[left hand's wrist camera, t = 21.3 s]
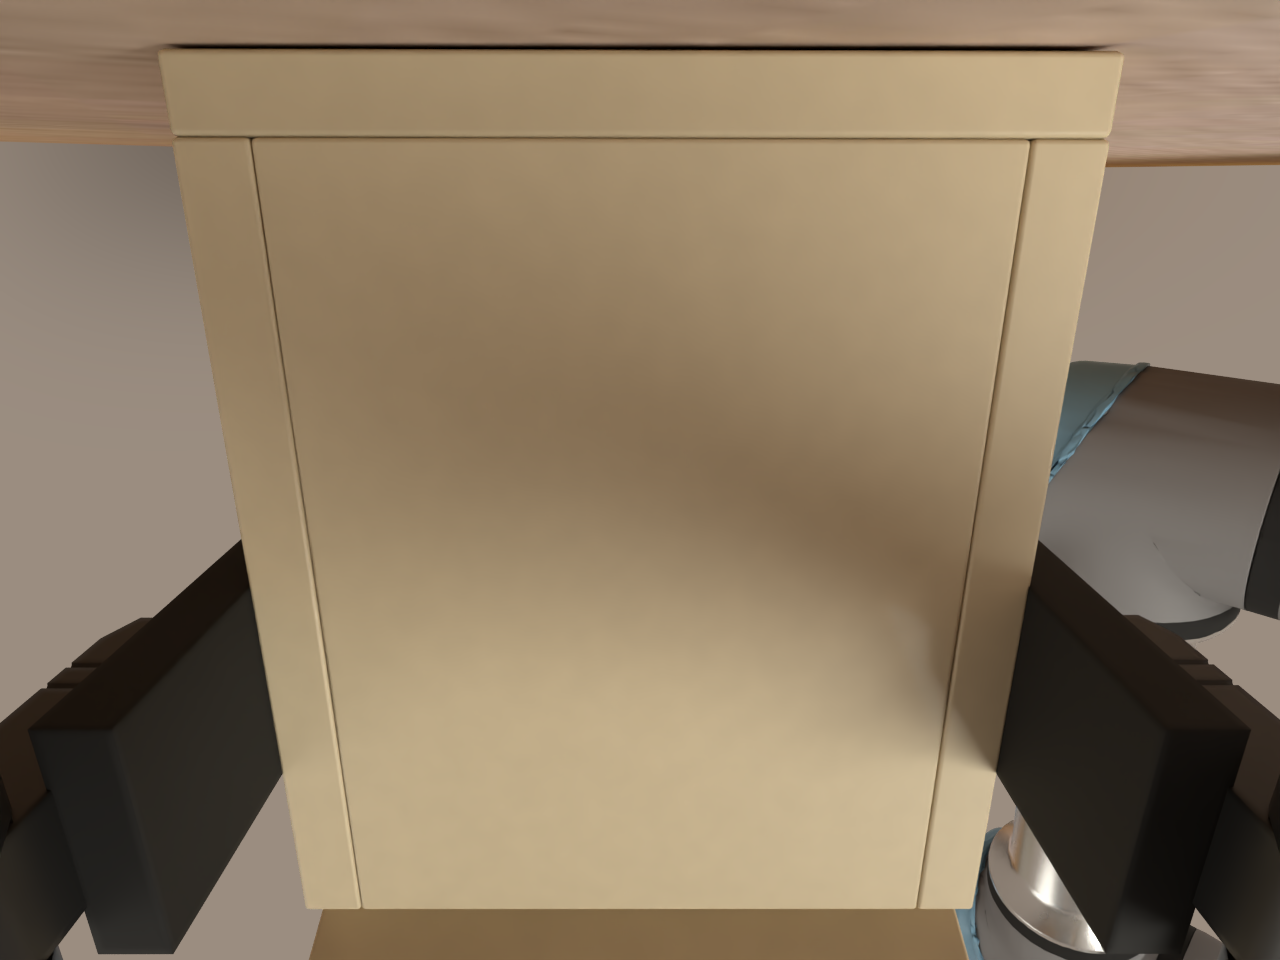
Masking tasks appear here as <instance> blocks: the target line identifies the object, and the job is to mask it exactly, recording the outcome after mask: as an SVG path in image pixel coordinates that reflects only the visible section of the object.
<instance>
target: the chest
mask: <svg viewBox="0 0 1280 960" xmlns="http://www.w3.org/2000/svg"><path fill="white" fill-rule="evenodd" d="M158 61H159V67H160V72H161V78H162V84H163V89H164V95H165V101H166V107H167V112H168V118H169V124H170V129H171V131H172V133H173V134H174V135H176V136H178V137H177V138H175V139H173V142H172V144H173V150H174V156H175V162H176V167H177V173H178V179H179V185H180V190H181V196H182V202H183V207H184V213H185V219H186V225H187V230H188V235H189V242H190V247H191V253H192V259H193V264H194V270H195V276H196V282H197V287H198V293H199V299H200V305H201V310H202V316H203V322H204V327H205V333H206V339H207V345H208V350H209V356H210V362H211V367H212V373H213V379H214V384H215V390H216V396H217V402H218V407H219V413H220V419H221V424H222V430H223V436H224V442H225V447H226V453H227V459H228V464H229V470H230V476H231V482H232V488H233V493H234V499H235V505H236V510H237V516H238V522H239V527H240V533H241V539H242V545H243V550H244V556H245V562H246V568H247V573H248V579H249V585H250V590H251V596H252V602H253V608H254V613H255V619H256V625H257V630H258V636H259V642H260V648H261V653H262V659H263V665H264V670H265V676H266V682H267V688H268V693H269V699H270V705H271V710H272V716H273V722H274V728H275V733H276V739H277V745H278V751H279V756H280V762H281V767H282V773H283V779H284V785H285V791H286V796H287V802H288V808H289V813H290V819H291V825H292V831H293V836H294V842H295V848H296V853H297V859H298V865H299V870H300V876H301V882H302V887H303V893H304V899H305V905H306V908H308V909H359V908H360V907H361V906H362V907H363V908H365V909H914V908H915V907H916V904H917V907H918V908H920V909H970V908H972V906H973V901H974V895H975V889H976V884H977V878H978V873H979V867H980V861H981V856H982V850H983V845H984V839H985V834H986V828H987V822H988V817H989V811H990V806H991V800H992V795H993V789H994V783H995V778H996V770H997V764H998V758H999V753H1000V747H1001V742H1002V736H1003V730H1004V725H1005V719H1006V713H1007V708H1008V702H1009V696H1010V691H1011V685H1012V679H1013V674H1014V668H1015V663H1016V657H1017V651H1018V646H1019V640H1020V634H1021V629H1022V623H1023V617H1024V612H1025V606H1026V600H1027V595H1028V589H1029V587H1030V583H1031V577H1032V572H1033V566H1034V561H1035V555H1036V549H1037V544H1038V538H1039V533H1040V527H1041V522H1042V516H1043V510H1044V505H1045V499H1046V494H1047V488H1048V483H1049V477H1050V471H1051V466H1052V460H1053V455H1054V449H1055V444H1056V438H1057V432H1058V427H1059V421H1060V416H1061V410H1062V405H1063V399H1064V393H1065V388H1066V382H1067V377H1068V371H1069V366H1070V360H1071V354H1072V349H1073V343H1074V338H1075V332H1076V327H1077V321H1078V315H1079V310H1080V304H1081V299H1082V293H1083V287H1084V281H1085V276H1086V271H1087V265H1088V260H1089V254H1090V248H1091V243H1092V237H1093V232H1094V226H1095V221H1096V215H1097V209H1098V204H1099V198H1100V193H1101V187H1102V182H1103V176H1104V171H1105V165H1106V159H1107V154H1108V148H1109V142H1108V141H1106V140H1104V138H1106V137H1108V136H1109V134H1110V132H1111V128H1112V122H1113V117H1114V111H1115V106H1116V100H1117V94H1118V89H1119V83H1120V78H1121V72H1122V67H1123V61H1124V56H1123V54H1122V53H1120V52H1118V51H868V50H501V49H163V50H160V51H158Z"/></svg>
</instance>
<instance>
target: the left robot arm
mask: <svg viewBox="0 0 1280 960" xmlns="http://www.w3.org/2000/svg"><path fill="white" fill-rule="evenodd" d="M996 773H997V775H998V777H999V778H1000V780H1001V782H1002V783H1003V785H1004V787H1005V788H1006V790H1007V792H1008V793H1009V795H1010V797H1011V798H1012V800H1013V802H1014V803H1015V805H1016V806H1017V808H1018V810H1019V811H1020V813H1021V815H1022V816H1023V818H1024V820H1025V821H1026V823H1027V825H1028V826H1029V828H1030V830H1031V831H1032V833H1033V835H1034V836H1035V838H1036V840H1037V841H1038V843H1039V844H1040V846H1041V848H1042V849H1043V851H1044V853H1045V854H1046V856H1047V858H1048V859H1049V861H1050V863H1051V864H1052V866H1053V868H1054V869H1055V871H1056V873H1057V874H1058V876H1059V878H1060V879H1061V881H1062V882H1063V884H1064V886H1065V887H1066V889H1067V891H1068V892H1069V894H1070V896H1071V897H1072V899H1073V901H1074V902H1075V904H1076V906H1077V907H1078V909H1079V911H1080V912H1081V914H1082V916H1083V917H1084V919H1085V920H1086V922H1087V924H1088V925H1089V927H1090V929H1091V930H1092V932H1093V934H1094V935H1095V937H1096V939H1097V940H1098V942H1099V944H1100V945H1101V947H1102V949H1103V950H1104V952H1105V953H1106V954H1181V951H1182V948H1183V945H1184V942H1185V939H1186V936H1187V932H1188V929H1189V926H1190V923H1191V920H1192V917H1193V913H1194V910H1195V907H1196V909H1197V910H1198V911H1199V913H1200V914H1201V915H1202V917H1203V918H1204V919H1205V920H1206V922H1207V923H1208V924H1209V926H1210V927H1211V928H1212V930H1213V931H1214V932H1215V933H1216V935H1217V936H1218V937H1219V939H1220V940H1221V941H1222V946H1221V949H1220V952H1219V955H1218V958H1217V960H1280V719H1278V718H1277V717H1276V716H1275V715H1274V714H1272V713H1271V712H1270V711H1269V710H1268V709H1266V708H1265V707H1264V706H1263V705H1262V704H1260V703H1259V702H1258V701H1257V700H1256V699H1254V698H1253V697H1252V696H1251V695H1250V694H1248V693H1247V692H1246V691H1245V690H1244V689H1242V688H1241V687H1240V686H1239V685H1233V684H1232V679H1230V678H1229V677H1228V676H1227V675H1226V674H1224V673H1223V672H1222V671H1221V670H1220V669H1218V668H1217V667H1216V666H1215V665H1209V664H1208V659H1206V658H1205V657H1204V656H1203V655H1202V654H1201V653H1199V652H1198V651H1197V650H1196V649H1195V648H1193V647H1192V646H1191V645H1190V644H1189V643H1187V642H1186V641H1185V640H1184V639H1183V638H1181V637H1180V636H1179V635H1177V634H1175V633H1173V632H1171V631H1169V630H1167V629H1165V628H1163V627H1161V626H1159V625H1157V624H1156V623H1154V622H1152V621H1150V620H1148V619H1146V618H1144V617H1142V616H1140V615H1122V614H1121V613H1120V612H1119V611H1118V610H1117V609H1116V608H1114V607H1113V606H1112V605H1111V604H1110V603H1109V602H1108V601H1107V600H1105V599H1104V598H1103V597H1102V596H1101V595H1100V594H1099V593H1098V592H1096V591H1095V590H1094V589H1093V588H1092V587H1091V586H1090V585H1089V584H1088V583H1086V582H1085V581H1084V580H1083V579H1082V578H1081V577H1080V576H1079V575H1077V574H1076V573H1075V572H1074V571H1073V570H1072V569H1071V568H1070V567H1068V566H1067V565H1066V564H1065V563H1064V562H1063V561H1062V560H1061V559H1059V558H1058V557H1057V556H1056V555H1055V554H1054V553H1053V552H1052V551H1050V550H1049V549H1048V548H1047V547H1046V546H1045V545H1044V544H1043V543H1041V542H1040V541H1039V540H1038V544H1037V549H1036V555H1035V561H1034V566H1033V572H1032V577H1031V583H1030V587H1029V589H1028V595H1027V600H1026V606H1025V612H1024V617H1023V623H1022V629H1021V634H1020V640H1019V646H1018V651H1017V657H1016V663H1015V668H1014V674H1013V679H1012V685H1011V691H1010V696H1009V702H1008V708H1007V713H1006V719H1005V725H1004V730H1003V736H1002V742H1001V747H1000V753H999V758H998V764H997V770H996ZM282 774H283V773H282V767H281V762H280V756H279V751H278V745H277V739H276V733H275V728H274V722H273V716H272V710H271V705H270V699H269V693H268V688H267V682H266V676H265V670H264V665H263V659H262V653H261V648H260V642H259V636H258V630H257V625H256V619H255V613H254V608H253V602H252V596H251V590H250V585H249V579H248V573H247V568H246V562H245V556H244V550H243V545H242V539H241V540H240V541H239V542H238V543H236V544H235V545H234V546H233V547H232V548H231V549H230V550H229V551H227V552H226V553H225V554H224V555H223V556H222V557H221V558H220V559H218V560H217V561H216V562H215V563H214V564H213V565H212V566H211V567H209V568H208V569H207V570H206V571H205V572H204V573H203V574H202V575H200V576H199V577H198V578H197V579H196V580H195V581H194V582H193V583H191V584H190V585H189V586H188V587H187V588H186V589H185V590H184V591H182V592H181V593H180V594H179V595H178V596H177V597H176V598H175V599H173V600H172V601H171V602H170V603H169V604H168V605H167V606H166V607H164V608H163V609H162V610H161V611H160V612H159V613H158V614H157V615H155V616H154V617H153V618H139V619H138V620H136V621H134V622H132V623H130V624H128V625H126V626H124V627H122V628H120V629H118V630H116V631H114V632H112V633H110V634H108V635H106V636H104V637H103V638H101V639H99V640H98V641H97V642H96V643H95V644H94V645H92V646H91V647H90V648H89V649H88V650H86V651H85V652H84V653H83V654H82V655H80V656H79V657H78V658H77V659H76V660H74V661H73V662H72V666H71V668H65V669H64V670H63V671H61V672H60V673H59V674H58V675H57V676H55V677H54V678H53V679H52V680H51V681H50V682H48V686H47V688H46V689H40V690H39V691H38V692H36V693H35V694H34V695H33V696H32V697H31V698H29V699H28V700H27V701H26V702H25V703H23V704H22V705H21V706H20V707H19V708H17V709H16V710H15V711H14V712H13V713H12V714H10V715H9V716H8V717H7V718H6V719H4V720H3V721H2V722H1V723H0V960H63V958H62V955H61V952H60V949H59V946H58V945H59V943H60V942H61V941H62V939H63V938H64V937H65V935H66V934H67V933H68V931H69V930H70V929H71V928H72V926H73V925H74V923H75V922H76V921H77V920H78V918H79V917H80V916H81V914H82V913H83V912H84V911H85V914H86V917H87V920H88V923H89V926H90V930H91V933H92V936H93V939H94V942H95V945H96V949H97V952H98V954H174V952H175V950H176V949H177V947H178V945H179V944H180V942H181V940H182V939H183V937H184V935H185V934H186V932H187V930H188V929H189V927H190V925H191V924H192V922H193V920H194V919H195V917H196V915H197V914H198V912H199V911H200V909H201V907H202V906H203V904H204V902H205V901H206V899H207V897H208V896H209V894H210V892H211V891H212V889H213V887H214V886H215V884H216V883H217V881H218V879H219V878H220V876H221V874H222V872H223V871H224V869H225V868H226V866H227V864H228V863H229V861H230V859H231V858H232V856H233V854H234V853H235V851H236V850H237V848H238V846H239V845H240V843H241V841H242V840H243V838H244V836H245V835H246V833H247V831H248V830H249V828H250V826H251V825H252V823H253V821H254V820H255V818H256V816H257V815H258V813H259V812H260V810H261V808H262V807H263V805H264V803H265V802H266V800H267V798H268V797H269V795H270V793H271V792H272V790H273V788H274V787H275V785H276V783H277V782H278V780H279V778H280V777H281V775H282Z"/></svg>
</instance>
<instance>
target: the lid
mask: <svg viewBox="0 0 1280 960" xmlns="http://www.w3.org/2000/svg"><path fill="white" fill-rule="evenodd" d="M309 960H969V957H968V954H967V950H966V947H965V943H964V940H963V936H962V932H961V929H960V925H959V922H958V918H957V915H956V911H955V909H920V908H918V907H917V904H916V907H915V908H914V909H365V908H363V907H362V906H361V907H360V908H359V909H323V911H322V915H321V918H320V922H319V925H318V929H317V933H316V936H315V940H314V944H313V947H312V951H311V954H310V958H309Z"/></svg>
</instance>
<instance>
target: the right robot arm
mask: <svg viewBox="0 0 1280 960" xmlns="http://www.w3.org/2000/svg"><path fill="white" fill-rule="evenodd" d="M1038 540H1039V541H1040V542H1041V543H1043V544H1044V545H1045V546H1046V547H1047V548H1048V549H1049V550H1050V551H1052V552H1053V553H1054V554H1055V555H1056V556H1057V557H1058V558H1059V559H1061V560H1062V561H1063V562H1064V563H1065V564H1066V565H1067V566H1068V567H1070V568H1071V569H1072V570H1073V571H1074V572H1075V573H1076V574H1077V575H1079V576H1080V577H1081V578H1082V579H1083V580H1084V581H1085V582H1086V583H1088V584H1089V585H1090V586H1091V587H1092V588H1093V589H1094V590H1095V591H1096V592H1098V593H1099V594H1100V595H1101V596H1102V597H1103V598H1104V599H1105V600H1107V601H1108V602H1109V603H1110V604H1111V605H1112V606H1113V607H1114V608H1116V609H1117V610H1118V611H1119V612H1120V613H1121V614H1122V615H1140V616H1142V617H1144V618H1146V619H1148V620H1150V621H1152V622H1154V623H1156V624H1157V625H1159V626H1161V627H1163V628H1165V629H1167V630H1169V631H1171V632H1173V633H1175V634H1177V635H1179V636H1180V637H1181V638H1183V639H1184V640H1185V641H1186V642H1187V643H1189V644H1190V645H1191V646H1192V647H1193V648H1195V649H1196V648H1197V644H1198V643H1199V642H1203V641H1205V640H1208V639H1211V638H1214V637H1216V636H1217V635H1219V634H1221V633H1223V632H1224V631H1226V630H1227V629H1229V628H1230V627H1231V626H1232V625H1233V623H1234V622H1235V621H1236V619H1237V617H1238V615H1239V612H1240V609H1243V610H1247V611H1250V612H1254V613H1257V614H1261V615H1264V616H1267V617H1271V618H1274V619H1278V620H1280V384H1274V383H1267V382H1259V381H1252V380H1245V379H1238V378H1230V377H1223V376H1216V375H1209V374H1202V373H1194V372H1188V371H1180V370H1173V369H1166V368H1158V367H1152V366H1150V364H1149V363H1138V364H1136V365H1131V364H1118V363H1106V362H1094V361H1076V362H1071V363H1070V366H1069V371H1068V377H1067V382H1066V388H1065V393H1064V399H1063V405H1062V410H1061V416H1060V421H1059V427H1058V432H1057V438H1056V444H1055V449H1054V455H1053V460H1052V466H1051V471H1050V477H1049V483H1048V488H1047V494H1046V499H1045V505H1044V510H1043V516H1042V522H1041V527H1040V533H1039V538H1038ZM955 911H956V915H957V918H958V922H959V925H960V929H961V932H962V936H963V940H964V943H965V947H966V950H967V954H968V957H969V960H1217V958H1218V955H1219V952H1220V949H1221V946H1222V942H1220V941H1218V940H1217V939H1215V938H1214V937H1212V936H1210V935H1208V934H1207V933H1205V932H1203V931H1201V930H1199V929H1196V928H1195V927H1193V926H1191V925H1190V926H1189V929H1188V932H1187V936H1186V939H1185V942H1184V945H1183V948H1182V951H1181V954H1106V953H1105V952H1104V950H1103V949H1102V947H1101V945H1100V944H1099V942H1098V940H1097V939H1096V937H1095V935H1094V934H1093V932H1092V930H1091V929H1090V927H1089V925H1088V924H1087V922H1086V920H1085V919H1084V917H1083V916H1082V914H1081V912H1080V911H1079V909H1078V907H1077V906H1076V904H1075V902H1074V901H1073V899H1072V897H1071V896H1070V894H1069V892H1068V891H1067V889H1066V887H1065V886H1064V884H1063V882H1062V881H1061V879H1060V878H1059V876H1058V874H1057V873H1056V871H1055V869H1054V868H1053V866H1052V864H1051V863H1050V861H1049V859H1048V858H1047V856H1046V854H1045V853H1044V851H1043V849H1042V848H1041V846H1040V844H1039V843H1038V841H1037V840H1036V838H1035V836H1034V835H1033V833H1032V831H1031V830H1030V828H1029V826H1028V825H1027V823H1026V821H1025V820H1024V818H1023V816H1022V815H1021V813H1020V811H1019V810H1018V808H1017V806H1016V811H1015V819H1014V820H1012V821H1010V822H1009V823H1008V824H1006V825H1005V826H1004V827H1002V828H995V829H992V830H990V831H989V832H987V833H986V834H985V839H984V845H983V850H982V856H981V861H980V867H979V873H978V878H977V884H976V889H975V895H974V901H973V906H972V908H970V909H955Z"/></svg>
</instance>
